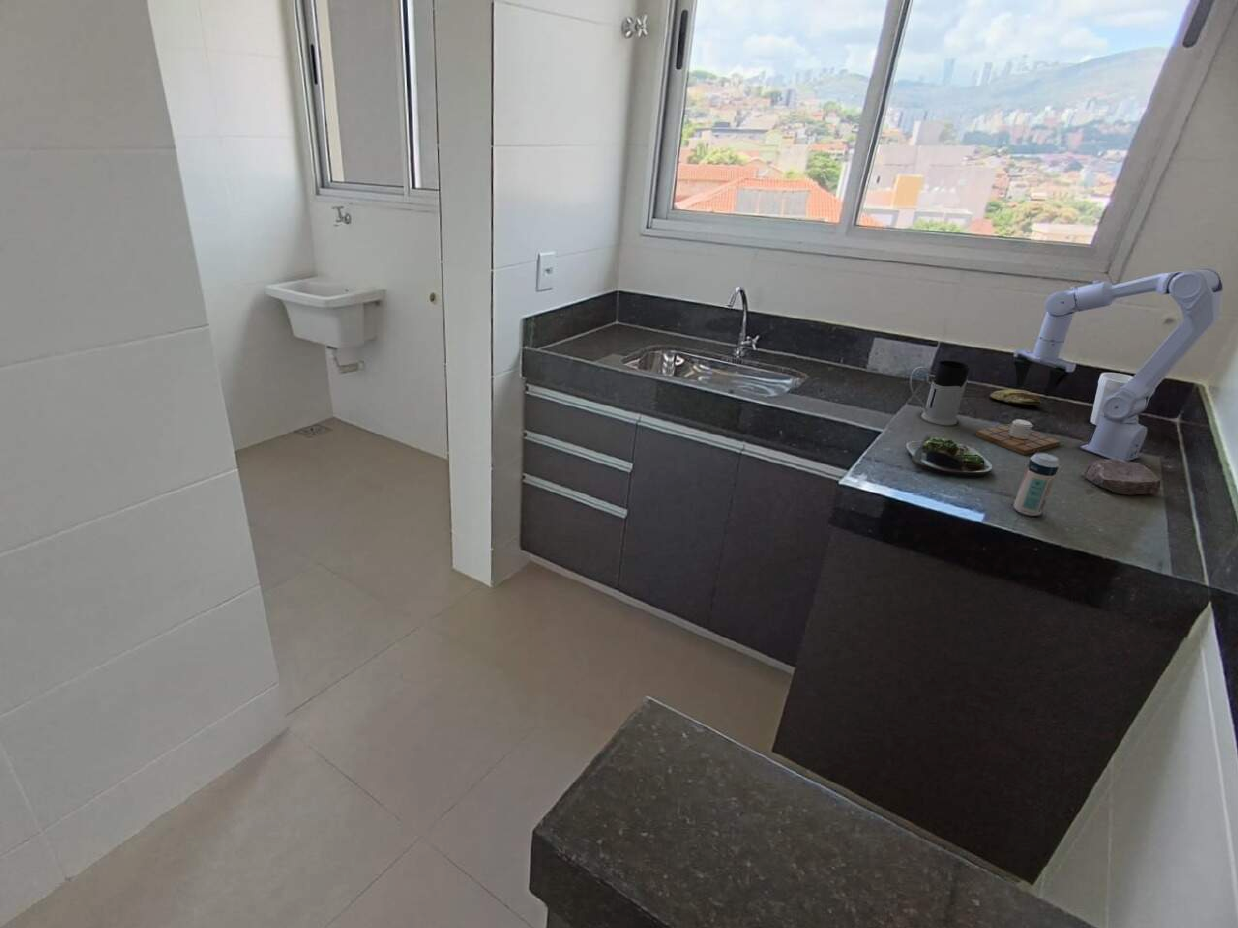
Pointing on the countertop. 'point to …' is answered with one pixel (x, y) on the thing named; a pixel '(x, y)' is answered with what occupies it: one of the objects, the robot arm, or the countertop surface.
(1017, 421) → the white cylinder
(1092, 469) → the stone
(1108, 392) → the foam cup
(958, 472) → the salad plate
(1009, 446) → the board
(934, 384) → the glass holder
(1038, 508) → the supplement jar
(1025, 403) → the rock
